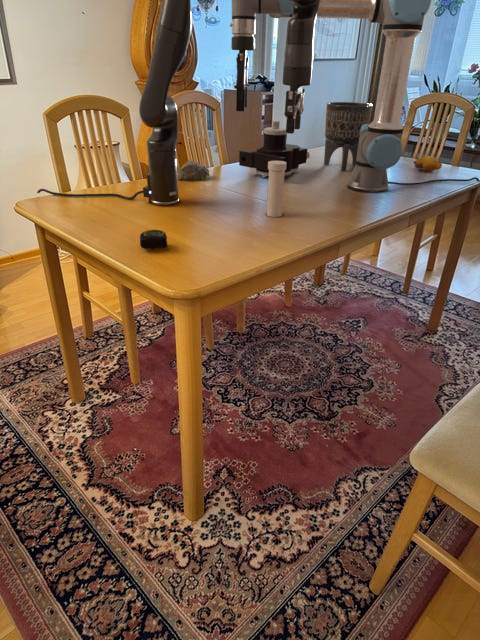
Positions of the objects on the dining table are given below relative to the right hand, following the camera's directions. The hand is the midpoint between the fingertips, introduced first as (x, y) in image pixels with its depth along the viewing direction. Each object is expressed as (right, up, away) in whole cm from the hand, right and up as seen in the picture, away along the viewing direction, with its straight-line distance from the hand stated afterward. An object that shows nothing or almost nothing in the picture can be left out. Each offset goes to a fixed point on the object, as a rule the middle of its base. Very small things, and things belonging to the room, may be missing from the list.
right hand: (241, 109), depth 155 cm
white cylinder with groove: (+11, -25, -18) cm, 32 cm away
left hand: (+14, -19, -28) cm, 37 cm away
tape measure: (-23, -54, -37) cm, 69 cm away
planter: (+47, -1, +56) cm, 73 cm away
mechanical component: (+17, -9, +42) cm, 46 cm away
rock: (-19, -14, +30) cm, 38 cm away
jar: (+10, -38, -10) cm, 41 cm away
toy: (+85, -3, +54) cm, 101 cm away
